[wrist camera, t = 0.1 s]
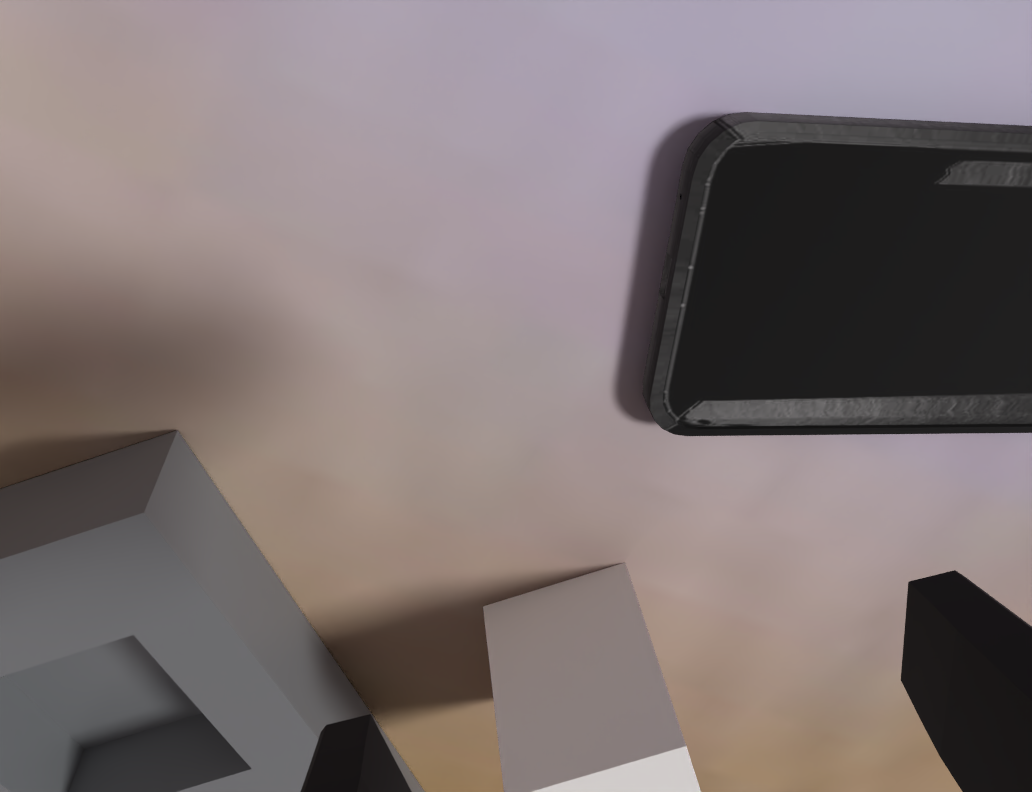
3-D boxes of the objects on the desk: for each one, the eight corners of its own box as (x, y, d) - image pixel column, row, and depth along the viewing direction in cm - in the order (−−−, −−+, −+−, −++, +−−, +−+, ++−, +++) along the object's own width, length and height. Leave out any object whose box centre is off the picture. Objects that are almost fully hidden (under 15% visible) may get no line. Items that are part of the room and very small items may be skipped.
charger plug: (654, 653, 26) (715, 838, 21) (525, 692, 26) (554, 884, 21) (624, 561, 23) (686, 746, 18) (482, 605, 24) (504, 799, 19)
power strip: (472, 861, 31) (479, 950, 29) (234, 930, 32) (219, 1024, 29) (177, 430, 19) (142, 515, 17) (-197, 554, 20) (-287, 655, 17)
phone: (1167, 431, 22) (643, 437, 20) (1135, 408, 23) (632, 412, 21) (1344, 143, 18) (706, 113, 16) (1297, 130, 19) (688, 99, 17)
